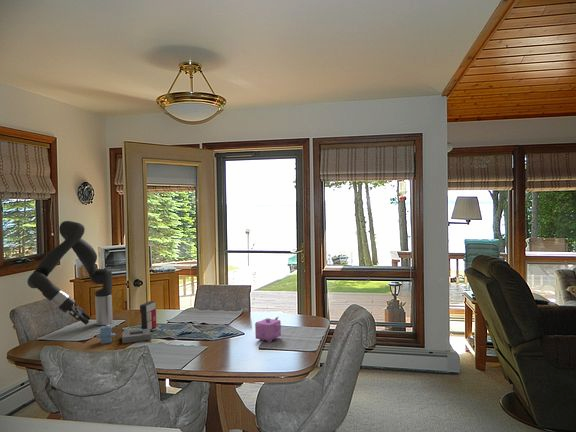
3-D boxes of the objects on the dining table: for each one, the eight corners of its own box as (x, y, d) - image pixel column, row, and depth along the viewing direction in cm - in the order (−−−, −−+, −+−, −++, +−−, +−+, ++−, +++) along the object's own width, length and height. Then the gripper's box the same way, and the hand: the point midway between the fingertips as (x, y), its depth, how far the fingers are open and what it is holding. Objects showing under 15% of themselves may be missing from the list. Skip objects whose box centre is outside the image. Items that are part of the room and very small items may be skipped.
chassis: (122, 337, 242) (122, 331, 241) (149, 333, 246) (149, 328, 246) (122, 343, 230) (122, 337, 230) (150, 339, 235) (150, 334, 235)
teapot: (283, 343, 224) (283, 321, 223) (257, 345, 221) (256, 323, 221) (279, 334, 239) (278, 314, 238) (254, 336, 236) (253, 316, 236)
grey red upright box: (147, 332, 250) (146, 305, 249) (140, 331, 251) (139, 305, 250) (157, 326, 260) (156, 301, 260) (150, 326, 261) (149, 301, 261)
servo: (97, 342, 234) (96, 325, 233) (115, 339, 237) (115, 323, 236) (96, 344, 230) (95, 327, 230) (115, 342, 233) (114, 325, 233)
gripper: (66, 298, 220) (92, 318, 224) (70, 293, 234) (95, 312, 238) (55, 310, 219) (81, 330, 223) (59, 304, 232) (84, 323, 236)
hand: (88, 321), depth 230 cm, fingers open, 8 cm apart
